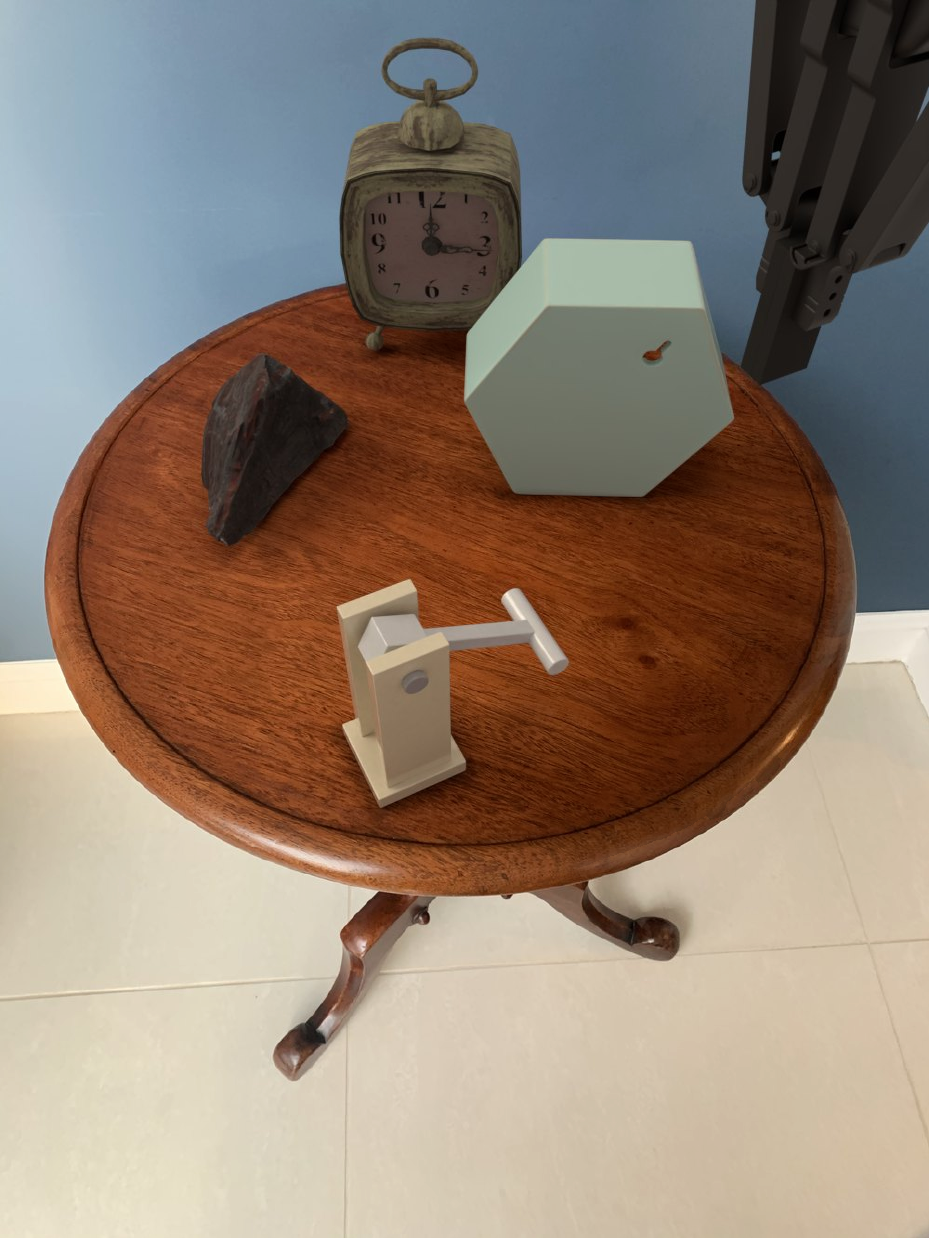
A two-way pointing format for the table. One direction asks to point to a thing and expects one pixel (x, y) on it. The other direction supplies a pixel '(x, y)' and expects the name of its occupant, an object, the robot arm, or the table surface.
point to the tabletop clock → (429, 211)
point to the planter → (597, 368)
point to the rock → (261, 443)
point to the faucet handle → (470, 633)
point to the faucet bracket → (398, 701)
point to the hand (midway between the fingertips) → (773, 367)
